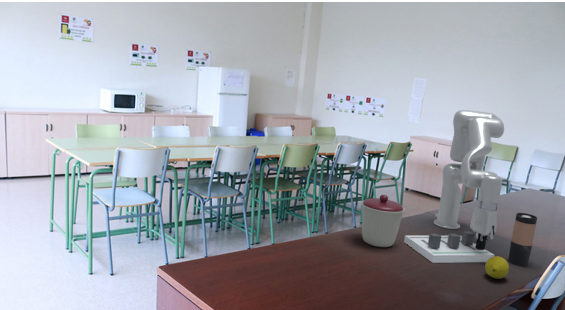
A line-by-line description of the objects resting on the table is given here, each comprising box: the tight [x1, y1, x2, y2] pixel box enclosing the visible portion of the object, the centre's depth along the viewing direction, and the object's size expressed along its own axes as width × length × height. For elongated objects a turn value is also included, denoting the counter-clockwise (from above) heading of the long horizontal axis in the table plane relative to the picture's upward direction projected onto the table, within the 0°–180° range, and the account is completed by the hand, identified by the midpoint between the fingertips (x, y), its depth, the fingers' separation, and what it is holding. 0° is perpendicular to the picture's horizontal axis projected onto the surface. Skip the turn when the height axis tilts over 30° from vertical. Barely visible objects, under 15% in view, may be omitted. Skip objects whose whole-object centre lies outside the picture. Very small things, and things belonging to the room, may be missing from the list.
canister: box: [360, 194, 406, 248], centre depth 190 cm, size 18×18×21 cm
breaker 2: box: [447, 233, 462, 248], centre depth 185 cm, size 3×4×5 cm
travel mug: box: [507, 212, 538, 267], centre depth 183 cm, size 8×8×20 cm
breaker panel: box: [403, 235, 496, 264], centre depth 189 cm, size 22×28×3 cm
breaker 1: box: [428, 233, 442, 248], centre depth 183 cm, size 3×4×5 cm
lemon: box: [484, 255, 510, 280], centre depth 165 cm, size 11×8×8 cm
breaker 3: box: [461, 230, 476, 245], centre depth 190 cm, size 3×4×5 cm
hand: (479, 249), depth 183 cm, fingers closed
